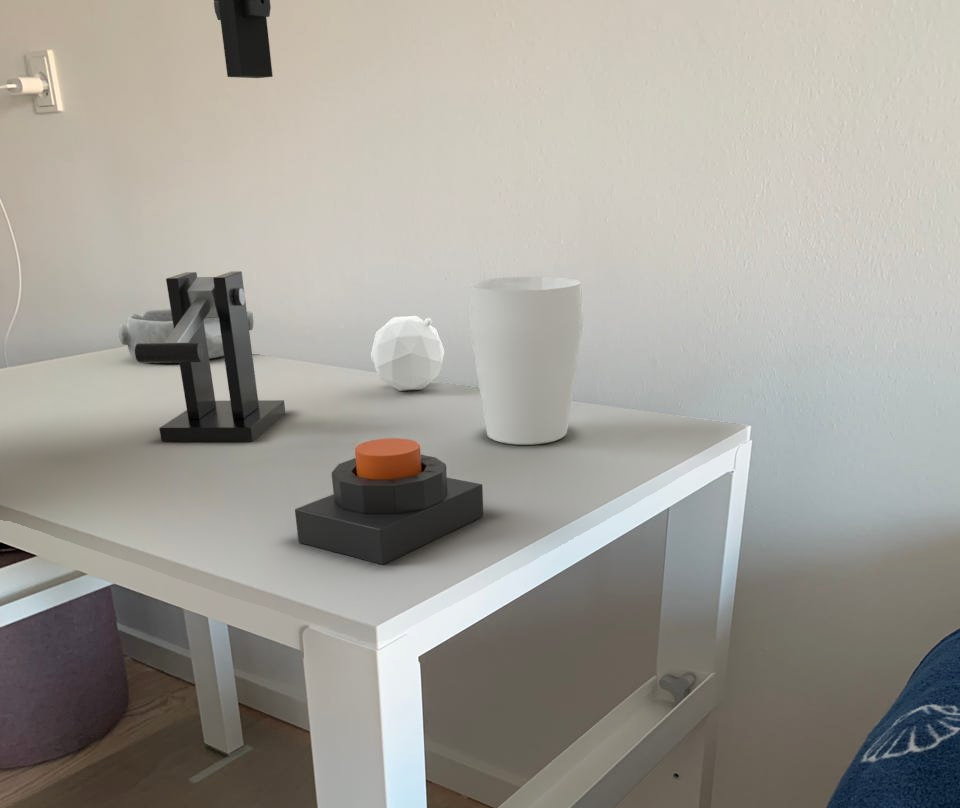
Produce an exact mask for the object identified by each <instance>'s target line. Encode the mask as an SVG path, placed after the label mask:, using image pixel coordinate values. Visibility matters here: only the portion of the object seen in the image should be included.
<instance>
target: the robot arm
mask: <svg viewBox="0 0 960 808" xmlns="http://www.w3.org/2000/svg"><path fill="white" fill-rule="evenodd" d="M271 7H272V6H271V0H213V8H214V13H215V17H216V19H217V20H218V21H220V27H221V35H222V45H223V53H224V60H225V67H226V75H227V78H241V79H242V78H245V79H263V78H265V79H266V78H273V76H274V75H273V68H272V57H271V47H270V39H269V29H268V19H267V18H269V17H270V16H271Z"/></svg>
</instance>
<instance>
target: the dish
mask: <svg viewBox="0 0 960 808" xmlns="http://www.w3.org/2000/svg"><path fill="white" fill-rule="evenodd" d="M247 317H248V325H249V331H252V330H253V328H254V324H255V323H254V321H255V320H254V315H253V312H252V311H249V310H247ZM204 327H205V334H206V341H207V348H208V355H209V360H210V359H216V358H220V357H224V351H223V344H222V337H221V330H220V323H219V318H205V319H204ZM173 330H174V326H173V320H172V314H171V308H166V309H165V308H163V309H153V310H146V311H144V312H143V313H142V314H141V315H139V314H137V313H132V314H130V315H129V316H128V317H127V320H126V324H124V323H123V324H122V323H121V324H119V326H118V339H119V342H120V344H121V345H123V346H127V349H128V352H129V355H130V356H131V357H132V358H133V359H136V357H135V346H136V344H138V343H164V342H165V341H166V340H167V338H168V337H169V335H170V334H171V333H172V331H173Z"/></svg>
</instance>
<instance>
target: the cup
mask: <svg viewBox="0 0 960 808" xmlns="http://www.w3.org/2000/svg"><path fill="white" fill-rule="evenodd" d="M583 322H584V315H583V299H582V281H581V280H579V279H575V278H571V277H563V276H562V277H560V276H513V277H501V278H500V277H499V278H497V277H496V278H490V279H483V280H478V281H475V282H472V283H470V284H469V318H468V325H469V326H468V328H469V335H470V340H471V346H472V352H473V359H474V364H475V370H476V376H477V377H476V378H477V383H478V387H479V393H480V395H479V396H480V400H481V404H482V405H481V406H482V412H483V418H484V424H485V429H486V435H487V437H488V438H490V439H491V440H493V441H495V442H498V443H502V444H506V445H507V444H508V445H515V446H516V445H517V446H530V445H531V446H532V445H542V444H549V443H553V442H555V441H559V440H561V439H563V438H564V437H565V436H566V435H567V433H568V427H569V420H570V414H571V408H572V407H571V406H572V400H573V393H574V387H575V380H576V373H577V366H578V359H579V354H580V347H581V345H580V344H581V338H582V333H583V332H582V331H583V324H584V323H583Z"/></svg>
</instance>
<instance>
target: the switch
mask: <svg viewBox="0 0 960 808" xmlns="http://www.w3.org/2000/svg"><path fill="white" fill-rule="evenodd" d="M214 277H215V276H197V278H196V279H195V281H194V282H193V283H192V285H191V286H190V287H189V289H188V290H187V293H188V297H189V301H190V305H191V306H190V307H189V309H188V310H187V311H186V313H185V314H184V316H183V317H182V318H181V320H180V321H179V323H178V324H177V326H176V327H175V328H174V330H173V331H172V333H171V334H170V335H169V337H168V338H167V340H166V341H165V342H164V343H138V344H136V346H135V357H136V358H135V359H136V361H137V362H138V363H140V364H144V363H145V364H149V363H150V364H151V363H157V364H158V363H179V362H202V361H203V359H204V349H203V346H202V344H201V343H189V341H190V340H191V338H192V337H193V335H194V334H195V332H196V331H197V329H198V328H199V326H200V325H201V323H202V322H203V320H204V319H205V318H219V316H218V309H217V301H216V294H215V287H214V280H213V278H214Z"/></svg>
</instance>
